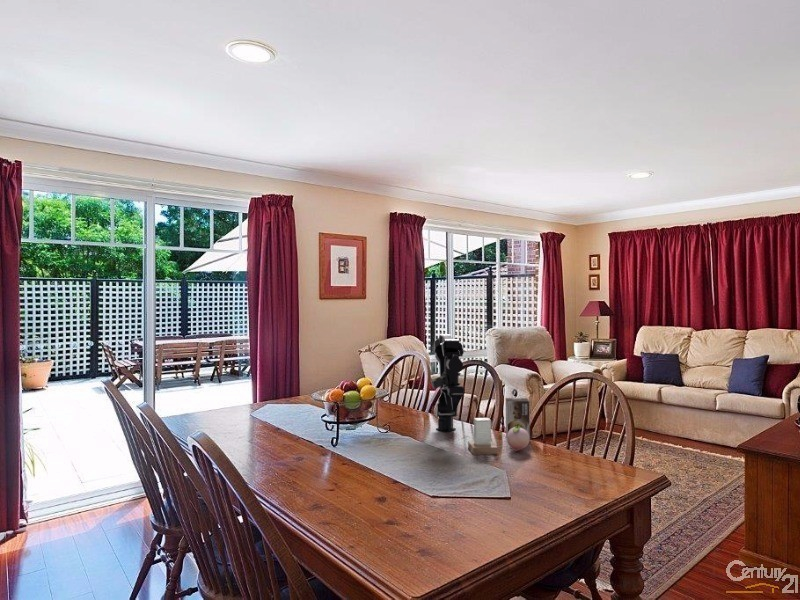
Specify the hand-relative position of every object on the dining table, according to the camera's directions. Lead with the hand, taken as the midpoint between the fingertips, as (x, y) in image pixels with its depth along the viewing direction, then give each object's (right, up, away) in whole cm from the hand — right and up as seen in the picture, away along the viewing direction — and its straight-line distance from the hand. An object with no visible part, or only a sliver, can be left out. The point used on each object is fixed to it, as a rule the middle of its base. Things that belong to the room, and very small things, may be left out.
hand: (451, 408), depth 207 cm
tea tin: (+10, -11, -14) cm, 21 cm away
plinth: (+10, -13, -14) cm, 22 cm away
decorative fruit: (+24, -13, -15) cm, 31 cm away
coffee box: (+28, -13, +3) cm, 31 cm away
